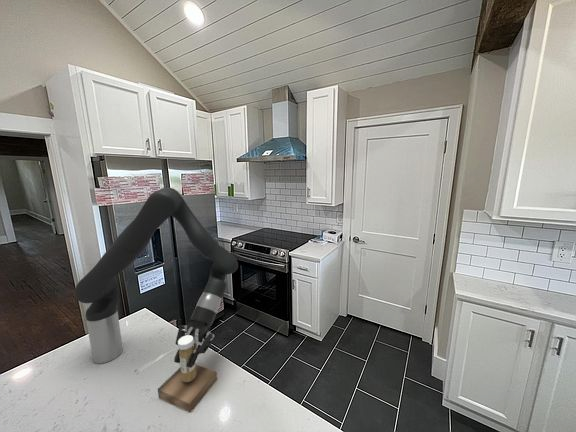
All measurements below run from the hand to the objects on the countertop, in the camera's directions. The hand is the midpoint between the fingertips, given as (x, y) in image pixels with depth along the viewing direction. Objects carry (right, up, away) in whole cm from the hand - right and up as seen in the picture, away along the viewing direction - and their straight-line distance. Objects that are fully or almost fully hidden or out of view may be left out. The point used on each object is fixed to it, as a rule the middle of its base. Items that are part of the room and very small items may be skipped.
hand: (182, 364), depth 72 cm
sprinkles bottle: (+1, -6, +3) cm, 7 cm away
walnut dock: (+1, -10, +3) cm, 11 cm away
